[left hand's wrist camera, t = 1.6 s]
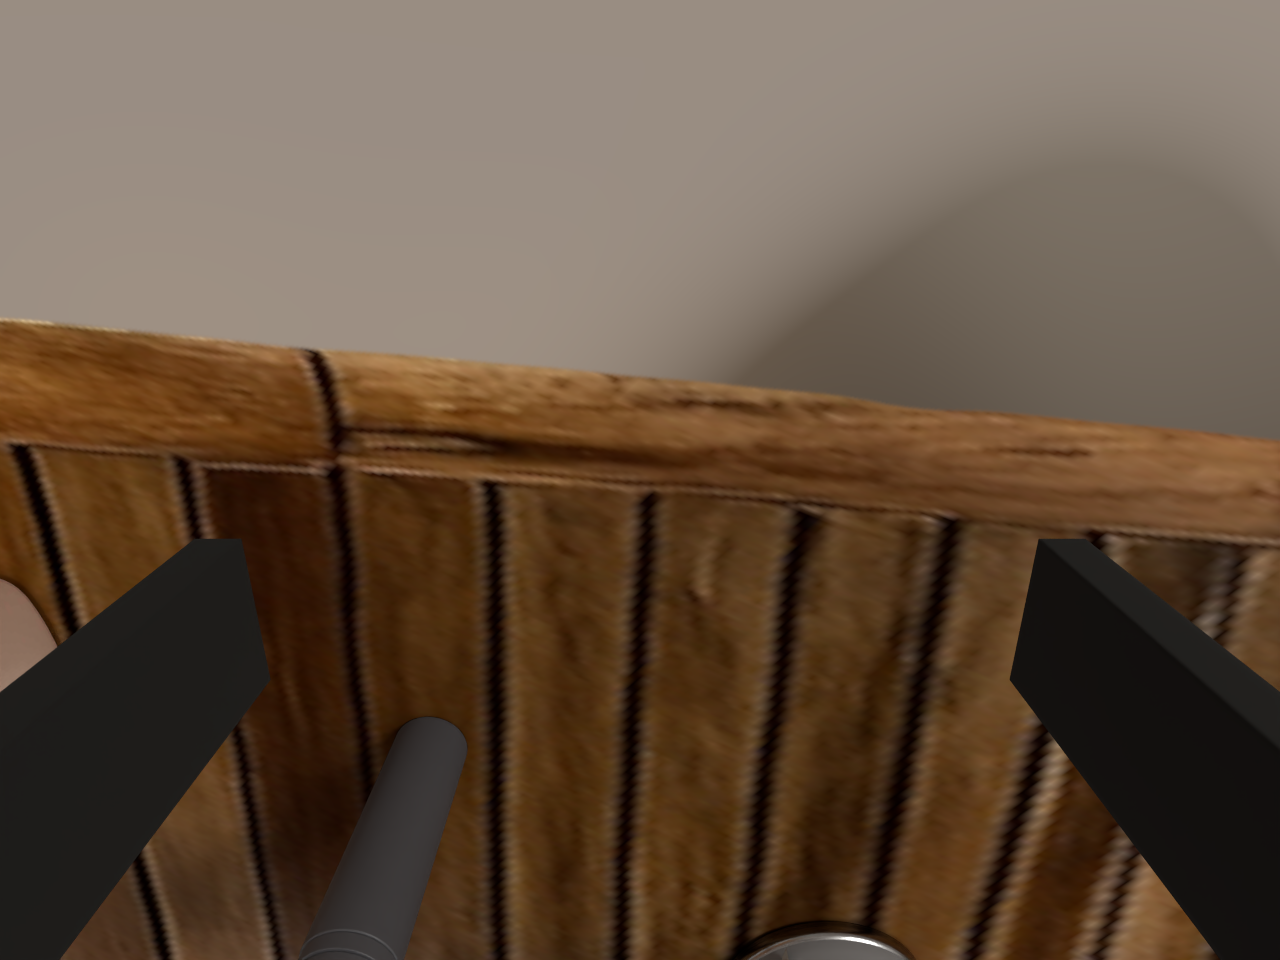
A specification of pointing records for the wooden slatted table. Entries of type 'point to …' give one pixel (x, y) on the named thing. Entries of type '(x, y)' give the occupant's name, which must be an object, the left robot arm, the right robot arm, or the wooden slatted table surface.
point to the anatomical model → (20, 634)
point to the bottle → (391, 849)
